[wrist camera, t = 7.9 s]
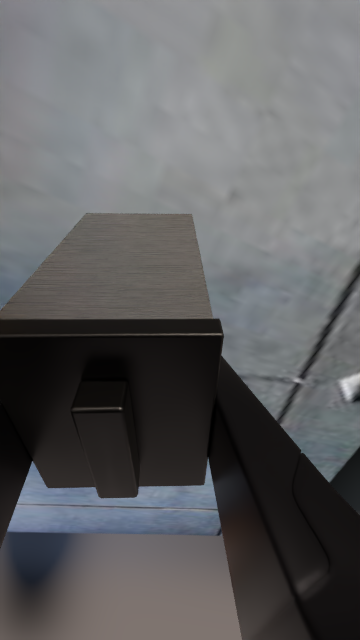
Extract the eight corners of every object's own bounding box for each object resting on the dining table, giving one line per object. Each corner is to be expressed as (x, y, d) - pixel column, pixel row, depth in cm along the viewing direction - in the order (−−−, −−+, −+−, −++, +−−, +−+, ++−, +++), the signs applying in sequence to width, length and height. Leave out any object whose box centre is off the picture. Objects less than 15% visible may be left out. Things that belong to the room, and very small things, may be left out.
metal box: (190, 322, 14) (207, 515, 7) (102, 322, 14) (36, 519, 7) (194, 211, 11) (232, 365, 4) (82, 210, 11) (-68, 367, 4)
